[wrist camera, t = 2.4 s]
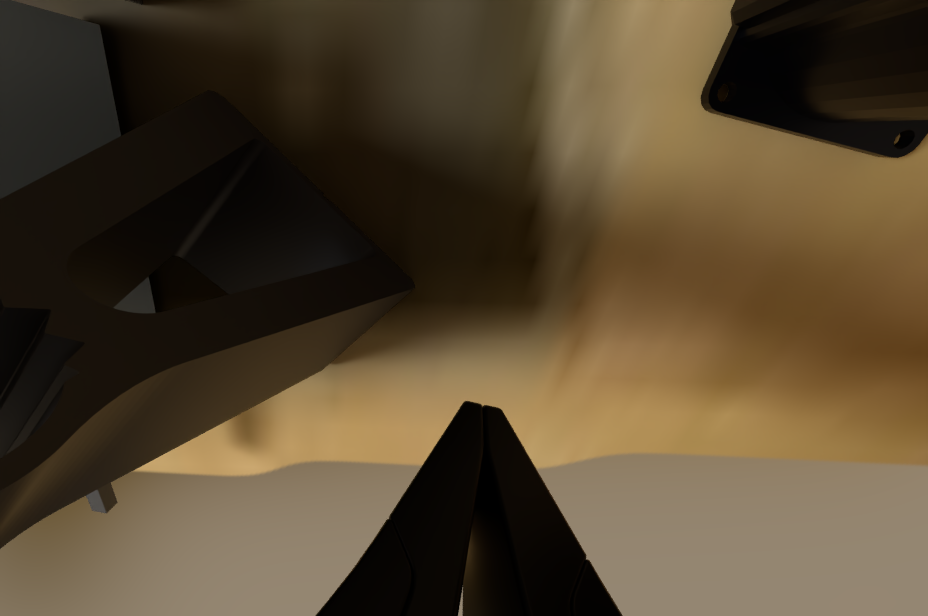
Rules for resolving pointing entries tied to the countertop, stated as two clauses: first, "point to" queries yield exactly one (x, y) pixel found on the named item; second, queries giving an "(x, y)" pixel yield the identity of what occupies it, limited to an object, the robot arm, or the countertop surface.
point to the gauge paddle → (55, 115)
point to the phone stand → (173, 331)
